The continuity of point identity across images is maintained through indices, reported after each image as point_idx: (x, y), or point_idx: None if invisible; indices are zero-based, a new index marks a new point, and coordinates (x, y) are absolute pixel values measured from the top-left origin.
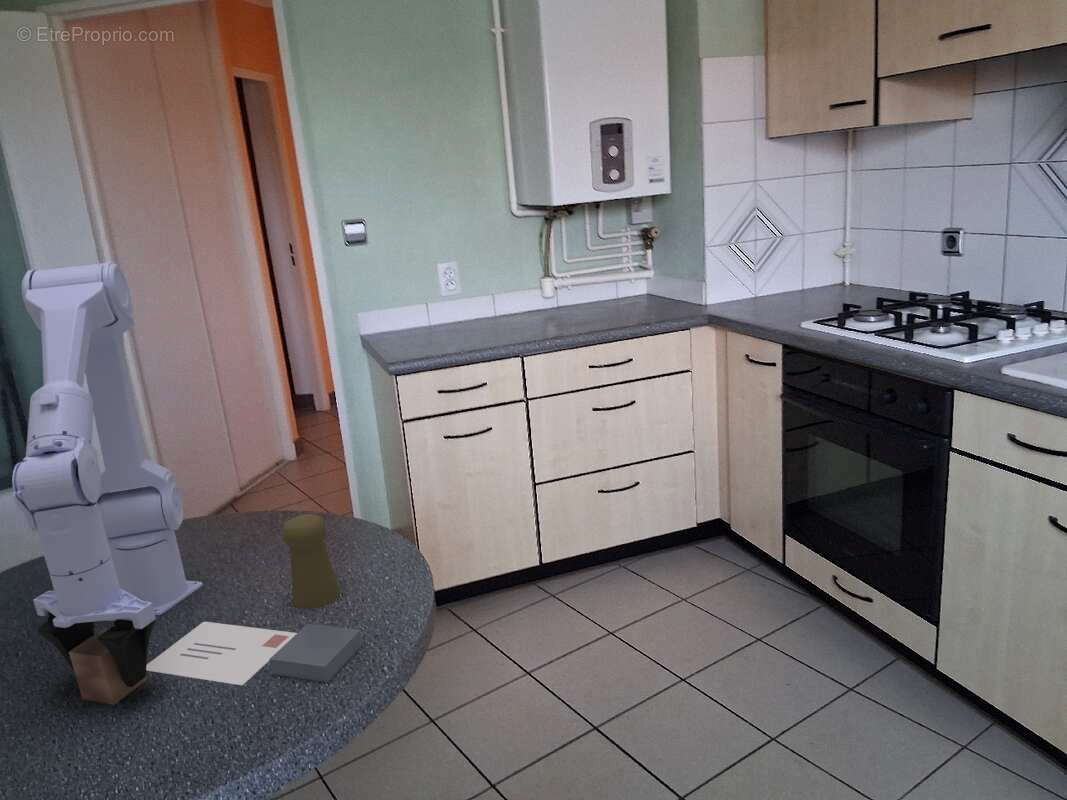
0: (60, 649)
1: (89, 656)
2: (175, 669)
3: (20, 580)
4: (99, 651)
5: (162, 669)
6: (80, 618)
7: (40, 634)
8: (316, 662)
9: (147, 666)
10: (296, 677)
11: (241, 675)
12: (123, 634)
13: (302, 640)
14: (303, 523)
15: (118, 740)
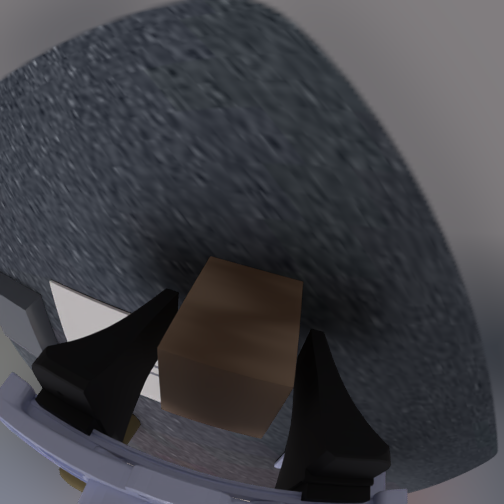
0: (340, 398)
1: (206, 359)
2: None
3: (488, 452)
4: (185, 371)
5: None
6: (115, 478)
7: (385, 444)
8: None
9: None
10: (17, 284)
11: (65, 302)
12: (33, 371)
13: (27, 335)
14: (66, 481)
15: (123, 152)
